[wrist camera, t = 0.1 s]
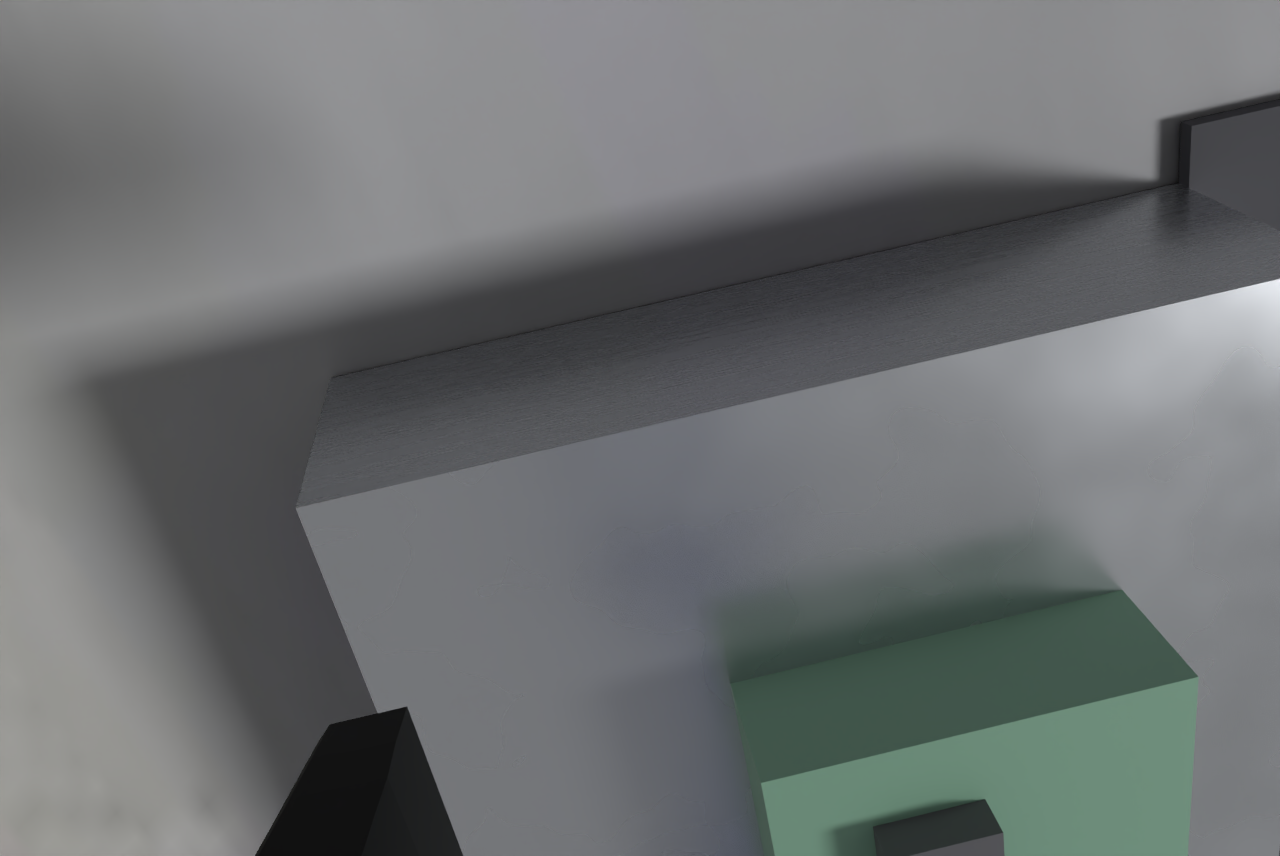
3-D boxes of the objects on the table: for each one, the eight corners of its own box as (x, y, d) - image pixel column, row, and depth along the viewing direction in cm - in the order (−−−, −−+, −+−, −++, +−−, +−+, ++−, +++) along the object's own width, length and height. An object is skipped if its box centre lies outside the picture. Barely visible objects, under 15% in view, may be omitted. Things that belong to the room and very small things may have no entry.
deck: (1150, 914, 27) (1253, 1076, 23) (574, 1058, 26) (590, 1245, 23) (1178, 182, 18) (1348, 263, 15) (330, 377, 18) (295, 509, 14)
